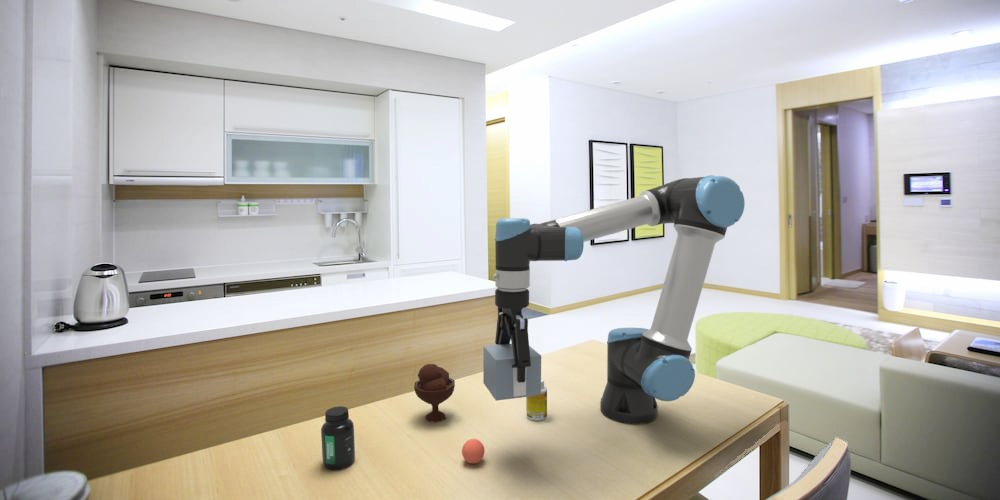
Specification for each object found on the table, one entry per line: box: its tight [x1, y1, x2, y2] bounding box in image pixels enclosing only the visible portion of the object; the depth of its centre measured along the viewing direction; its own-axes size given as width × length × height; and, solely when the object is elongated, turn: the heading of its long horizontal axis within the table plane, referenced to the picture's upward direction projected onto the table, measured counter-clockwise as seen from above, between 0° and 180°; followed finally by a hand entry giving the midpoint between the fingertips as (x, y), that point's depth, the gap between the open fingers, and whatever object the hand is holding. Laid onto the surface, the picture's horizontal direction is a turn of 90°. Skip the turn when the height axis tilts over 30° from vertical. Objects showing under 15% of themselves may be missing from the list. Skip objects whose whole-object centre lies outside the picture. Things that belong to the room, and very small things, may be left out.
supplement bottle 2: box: [525, 377, 548, 422], centre depth 124 cm, size 6×6×10 cm
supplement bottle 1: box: [320, 405, 356, 471], centre depth 103 cm, size 7×7×12 cm
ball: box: [461, 438, 486, 464], centre depth 103 cm, size 5×5×5 cm
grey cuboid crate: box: [482, 343, 542, 402], centre depth 104 cm, size 10×10×9 cm
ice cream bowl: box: [413, 363, 456, 423], centre depth 124 cm, size 11×11×15 cm
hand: (511, 385), depth 104 cm, fingers closed on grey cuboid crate, 10 cm apart
